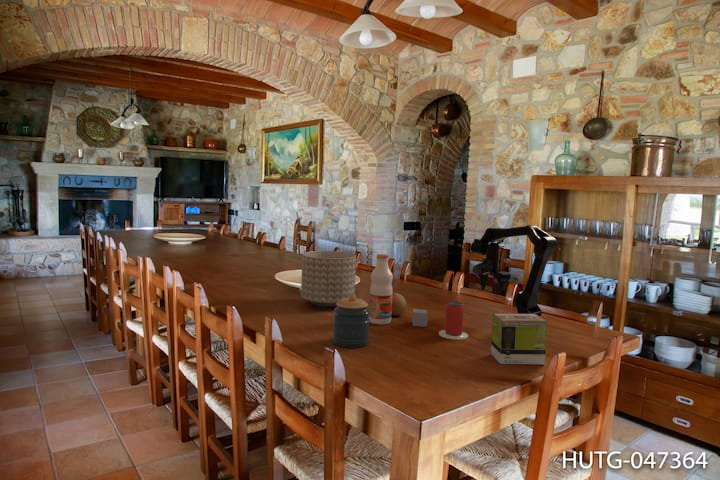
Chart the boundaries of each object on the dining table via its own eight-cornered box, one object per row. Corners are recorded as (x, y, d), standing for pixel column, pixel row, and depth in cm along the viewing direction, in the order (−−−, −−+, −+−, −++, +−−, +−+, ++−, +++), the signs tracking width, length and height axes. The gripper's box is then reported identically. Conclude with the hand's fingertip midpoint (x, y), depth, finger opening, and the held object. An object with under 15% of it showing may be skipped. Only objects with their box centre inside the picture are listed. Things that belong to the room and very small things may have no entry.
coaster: (473, 338, 178) (473, 336, 178) (449, 341, 174) (449, 339, 174) (456, 330, 188) (456, 328, 188) (433, 332, 184) (433, 330, 184)
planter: (292, 308, 212) (293, 256, 210) (311, 296, 236) (312, 249, 234) (346, 314, 206) (348, 260, 204) (359, 301, 231) (361, 253, 228)
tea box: (532, 355, 162) (536, 313, 160) (545, 365, 152) (548, 321, 151) (489, 354, 162) (492, 311, 160) (499, 364, 152) (502, 320, 150)
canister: (348, 334, 177) (350, 288, 175) (376, 342, 169) (378, 294, 167) (324, 342, 167) (326, 293, 165) (352, 351, 159) (354, 300, 157)
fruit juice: (375, 317, 202) (377, 252, 199) (394, 321, 198) (398, 255, 195) (364, 322, 194) (367, 255, 191) (384, 326, 190) (387, 257, 187)
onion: (405, 319, 201) (406, 296, 200) (382, 317, 203) (383, 294, 202) (407, 313, 211) (408, 291, 210) (385, 311, 213) (386, 290, 211)
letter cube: (426, 323, 197) (427, 310, 196) (427, 326, 192) (427, 313, 191) (412, 322, 198) (413, 309, 197) (412, 326, 192) (413, 312, 191)
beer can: (465, 336, 178) (467, 305, 177) (448, 336, 177) (450, 305, 176) (458, 331, 185) (460, 301, 183) (442, 331, 184) (444, 301, 183)
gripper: (463, 254, 209) (461, 288, 210) (491, 260, 192) (489, 298, 193) (484, 253, 213) (481, 287, 215) (513, 259, 196) (510, 296, 198)
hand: (489, 292), depth 205 cm, fingers open, 9 cm apart
